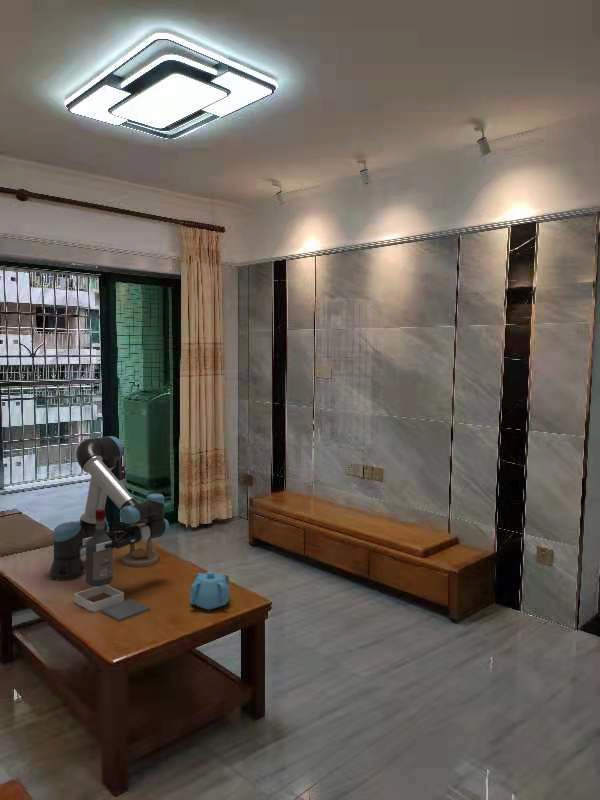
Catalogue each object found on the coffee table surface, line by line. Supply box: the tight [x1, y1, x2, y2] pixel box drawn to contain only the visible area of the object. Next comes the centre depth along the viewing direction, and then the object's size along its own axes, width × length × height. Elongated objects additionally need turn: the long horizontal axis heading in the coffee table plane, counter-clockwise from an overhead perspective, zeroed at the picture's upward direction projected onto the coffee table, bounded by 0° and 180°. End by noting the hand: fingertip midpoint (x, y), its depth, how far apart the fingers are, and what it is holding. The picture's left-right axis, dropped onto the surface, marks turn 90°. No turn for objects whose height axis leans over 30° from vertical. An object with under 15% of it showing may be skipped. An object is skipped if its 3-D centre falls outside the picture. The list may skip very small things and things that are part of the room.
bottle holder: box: [73, 584, 125, 613], centre depth 239 cm, size 15×15×4 cm
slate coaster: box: [99, 598, 151, 623], centre depth 231 cm, size 13×14×1 cm
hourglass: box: [121, 519, 160, 568], centre depth 288 cm, size 18×18×25 cm
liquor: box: [85, 509, 114, 588], centre depth 238 cm, size 9×9×30 cm
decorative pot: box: [189, 571, 231, 610], centre depth 239 cm, size 16×16×14 cm
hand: (89, 545), depth 234 cm, fingers closed on liquor, 9 cm apart
